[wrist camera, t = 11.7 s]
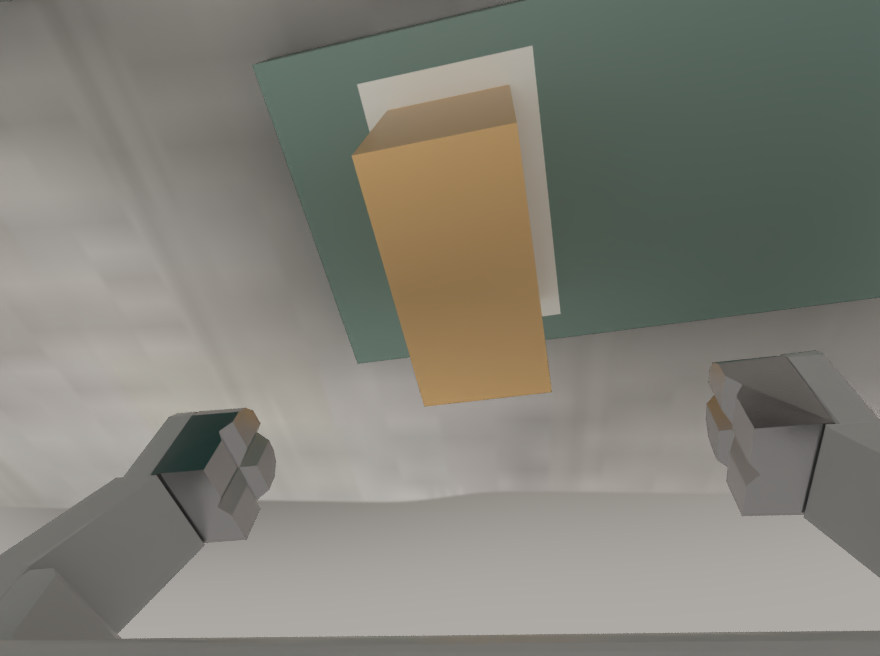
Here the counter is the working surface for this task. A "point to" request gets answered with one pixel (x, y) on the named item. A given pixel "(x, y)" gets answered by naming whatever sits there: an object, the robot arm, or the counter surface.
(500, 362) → the block
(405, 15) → the counter surface
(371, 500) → the counter surface
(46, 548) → the robot arm
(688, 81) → the board
